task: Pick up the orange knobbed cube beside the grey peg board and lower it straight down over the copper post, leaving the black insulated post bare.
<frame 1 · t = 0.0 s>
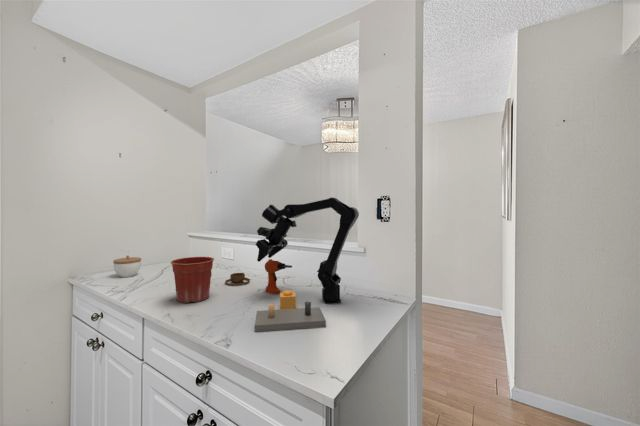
hand: (263, 259, 123), 15 cm above the worktop, tool tilted 35°, fingers open, 9 cm apart
toy drill: (278, 294, 121), on the worktop
flower pot: (193, 298, 115), on the worktop
orange knobbed cube: (287, 307, 105), on the worktop
lidded bowl: (127, 276, 153), on the worktop
grey peg board: (289, 321, 92), on the worktop
brown cup and saucer: (231, 283, 141), on the worktop
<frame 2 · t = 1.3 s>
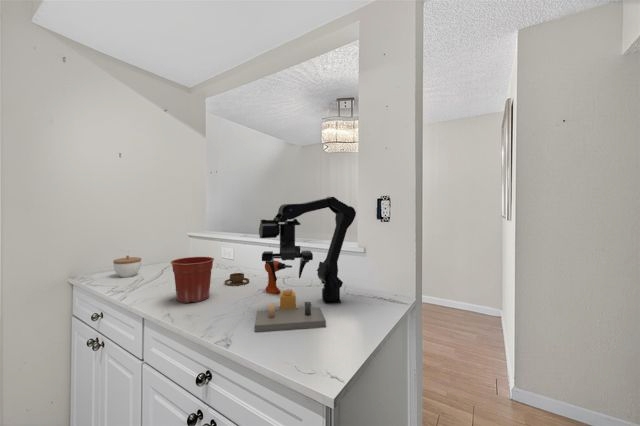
hand: (287, 278, 105), 11 cm above the worktop, tool pointing down, fingers open, 9 cm apart
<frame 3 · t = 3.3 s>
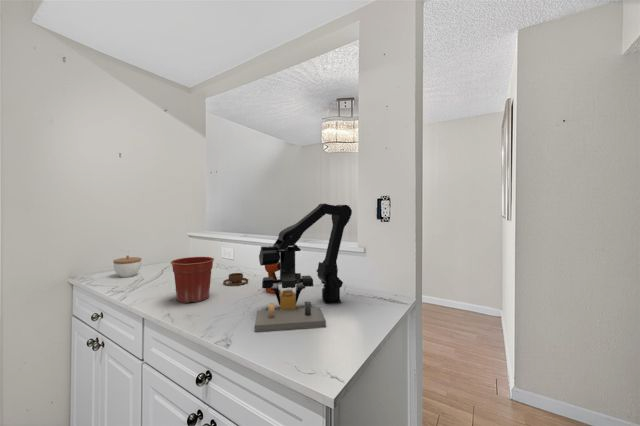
hand: (287, 304, 105), 1 cm above the worktop, tool pointing down, fingers closed on orange knobbed cube, 6 cm apart
orange knobbed cube: (287, 307, 105), on the worktop, touching gripper
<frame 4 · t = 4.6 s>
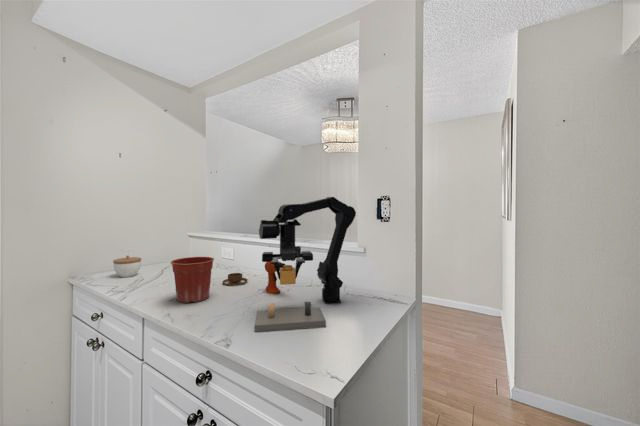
hand: (287, 279, 105), 11 cm above the worktop, tool pointing down, fingers closed on orange knobbed cube, 6 cm apart
orange knobbed cube: (287, 282, 105), point 10 cm above the worktop, touching gripper
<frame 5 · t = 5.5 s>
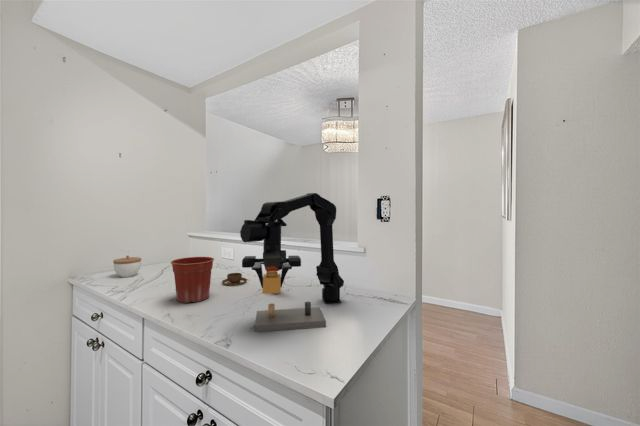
hand: (271, 287, 92), 11 cm above the worktop, tool pointing down, fingers closed on orange knobbed cube, 6 cm apart
orange knobbed cube: (271, 290, 92), point 10 cm above the worktop, touching gripper
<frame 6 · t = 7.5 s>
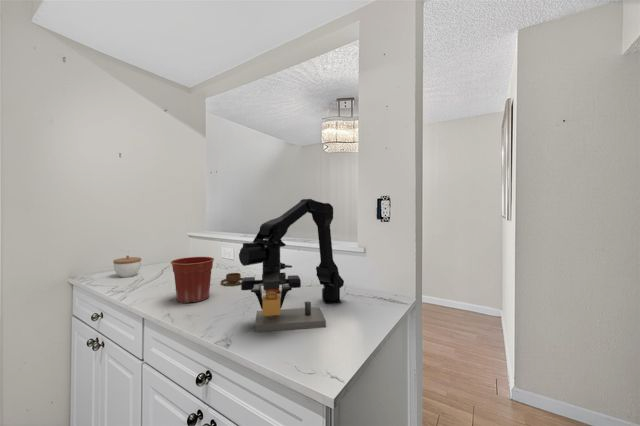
hand: (271, 308, 91), 5 cm above the worktop, tool pointing down, fingers closed on orange knobbed cube, 6 cm apart
orange knobbed cube: (271, 312, 91), point 3 cm above the worktop, touching gripper
when the fingers open (5 cm above the worktop, at t = 7.9 s): orange knobbed cube drops 1 cm, resting on grey peg board.
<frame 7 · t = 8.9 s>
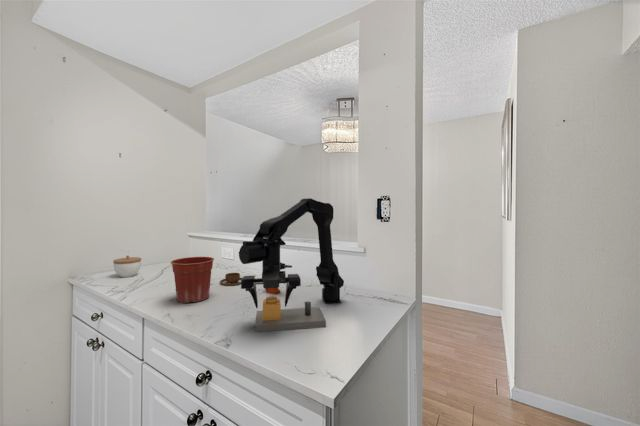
hand: (271, 307, 91), 5 cm above the worktop, tool pointing down, fingers open, 9 cm apart
orange knobbed cube: (271, 316, 91), point 2 cm above the worktop, touching grey peg board
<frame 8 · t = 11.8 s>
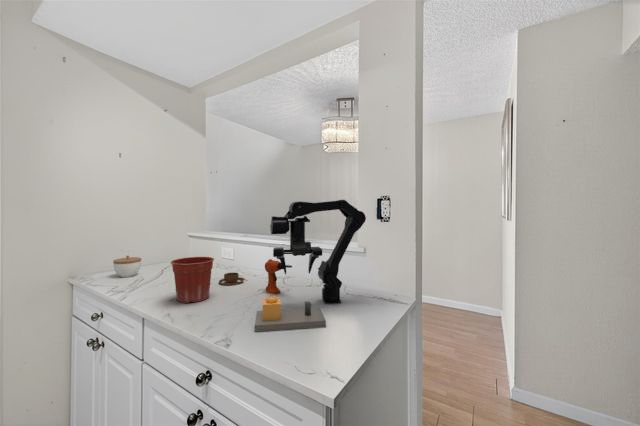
hand: (297, 273, 108), 12 cm above the worktop, tool pointing down, fingers open, 9 cm apart
at the end: orange knobbed cube 0.1 cm from the target spot on the grey peg board, point 2.0 cm above the grey peg board's base; orange knobbed cube tilted 0°; the gripper is holding nothing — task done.
